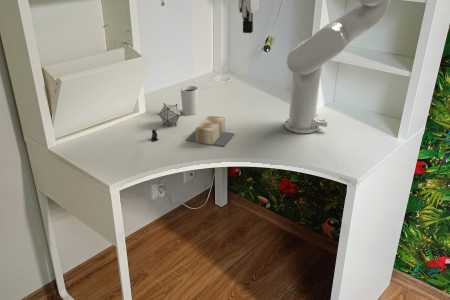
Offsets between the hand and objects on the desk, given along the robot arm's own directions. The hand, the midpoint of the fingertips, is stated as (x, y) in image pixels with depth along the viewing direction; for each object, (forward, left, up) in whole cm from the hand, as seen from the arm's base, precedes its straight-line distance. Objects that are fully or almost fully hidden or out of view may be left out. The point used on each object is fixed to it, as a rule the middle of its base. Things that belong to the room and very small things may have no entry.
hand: (247, 32), depth 154 cm
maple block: (+6, +15, -29) cm, 34 cm away
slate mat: (+6, +22, -32) cm, 39 cm away
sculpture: (+24, +30, -33) cm, 51 cm away
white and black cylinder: (+22, +3, -33) cm, 39 cm away
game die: (+24, +16, -33) cm, 44 cm away
